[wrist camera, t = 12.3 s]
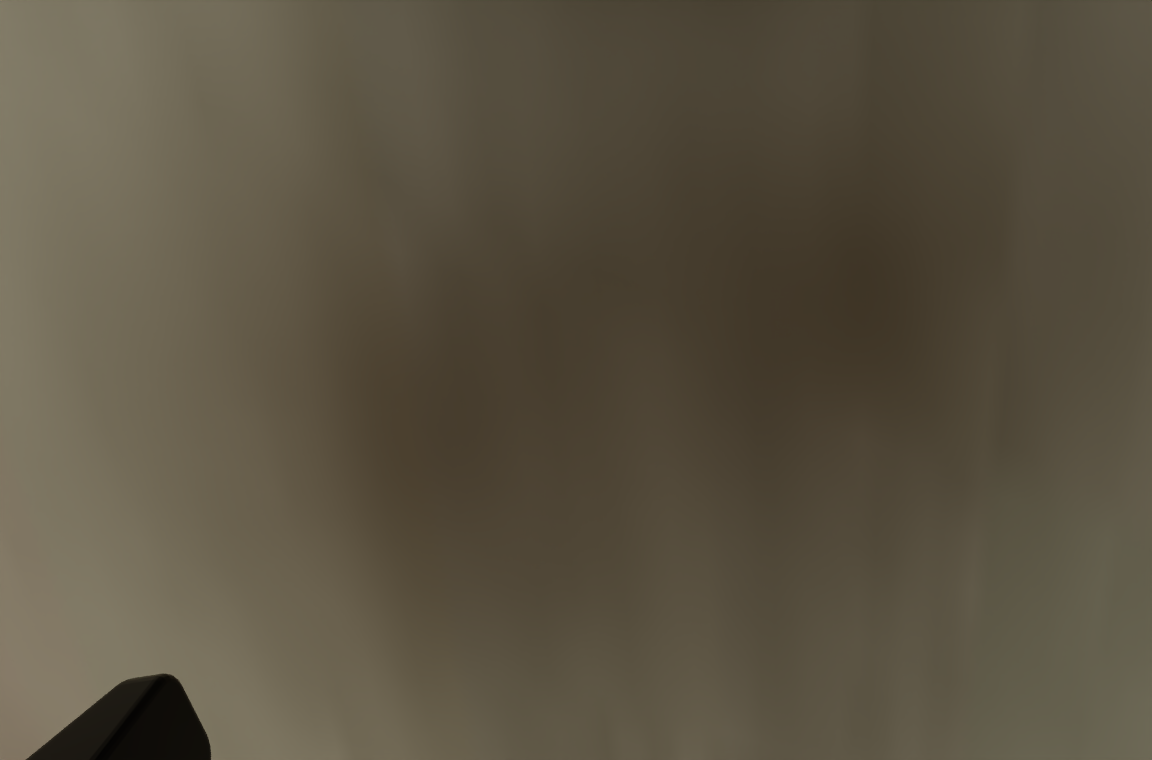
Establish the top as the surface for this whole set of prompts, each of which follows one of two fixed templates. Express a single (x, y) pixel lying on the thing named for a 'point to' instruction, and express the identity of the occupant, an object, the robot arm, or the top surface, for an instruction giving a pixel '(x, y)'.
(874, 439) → the top surface
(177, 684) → the robot arm
